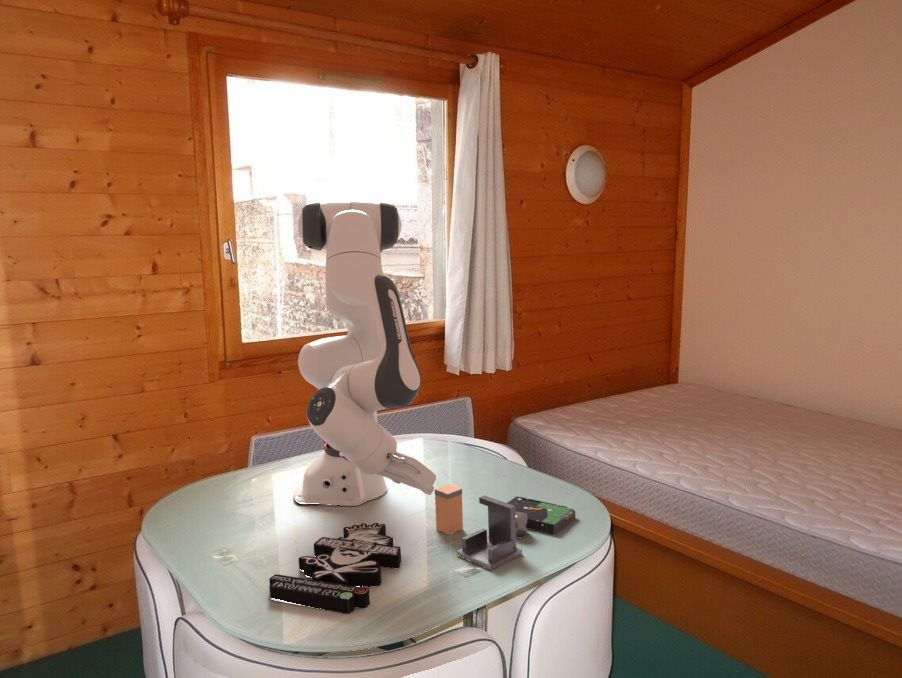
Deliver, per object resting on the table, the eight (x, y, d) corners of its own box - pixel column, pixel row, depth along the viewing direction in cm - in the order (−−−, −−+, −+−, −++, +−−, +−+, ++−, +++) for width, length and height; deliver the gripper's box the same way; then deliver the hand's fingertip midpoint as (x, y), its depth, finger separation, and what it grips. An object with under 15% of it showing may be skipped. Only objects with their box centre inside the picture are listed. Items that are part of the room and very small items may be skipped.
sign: (260, 585, 124) (342, 518, 152) (261, 601, 124) (342, 531, 152) (358, 601, 117) (424, 528, 145) (359, 618, 118) (425, 542, 146)
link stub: (509, 538, 145) (509, 520, 145) (507, 530, 149) (506, 512, 149) (529, 537, 146) (528, 518, 145) (525, 529, 150) (525, 511, 149)
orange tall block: (449, 535, 148) (447, 494, 146) (436, 529, 151) (434, 489, 149) (463, 529, 151) (462, 488, 149) (450, 523, 153) (448, 484, 152)
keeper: (490, 570, 132) (489, 522, 130) (453, 554, 139) (452, 508, 138) (522, 554, 138) (521, 508, 137) (485, 539, 145) (484, 495, 144)
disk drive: (493, 523, 155) (555, 537, 146) (493, 511, 154) (555, 524, 146) (516, 507, 163) (576, 519, 155) (516, 495, 163) (576, 507, 154)
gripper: (417, 446, 128) (458, 484, 136) (351, 426, 143) (391, 461, 151) (399, 476, 126) (441, 512, 134) (334, 453, 140) (375, 487, 148)
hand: (414, 485), depth 142 cm, fingers open, 8 cm apart
